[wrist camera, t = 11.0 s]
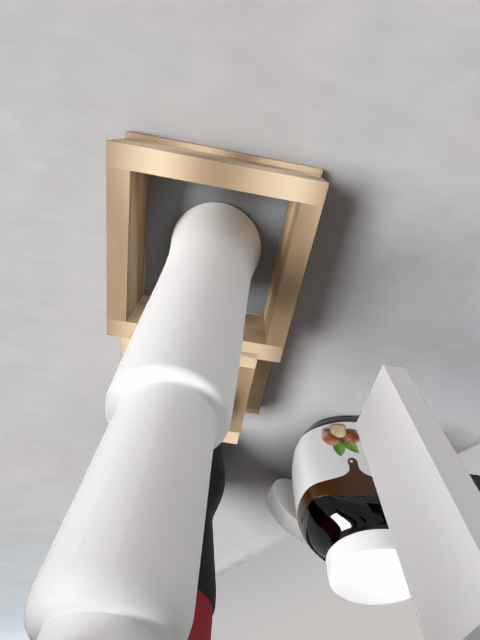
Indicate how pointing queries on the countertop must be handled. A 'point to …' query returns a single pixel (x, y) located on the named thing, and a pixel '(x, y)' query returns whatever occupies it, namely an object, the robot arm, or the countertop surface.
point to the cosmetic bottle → (155, 449)
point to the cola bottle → (208, 556)
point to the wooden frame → (194, 189)
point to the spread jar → (340, 514)
